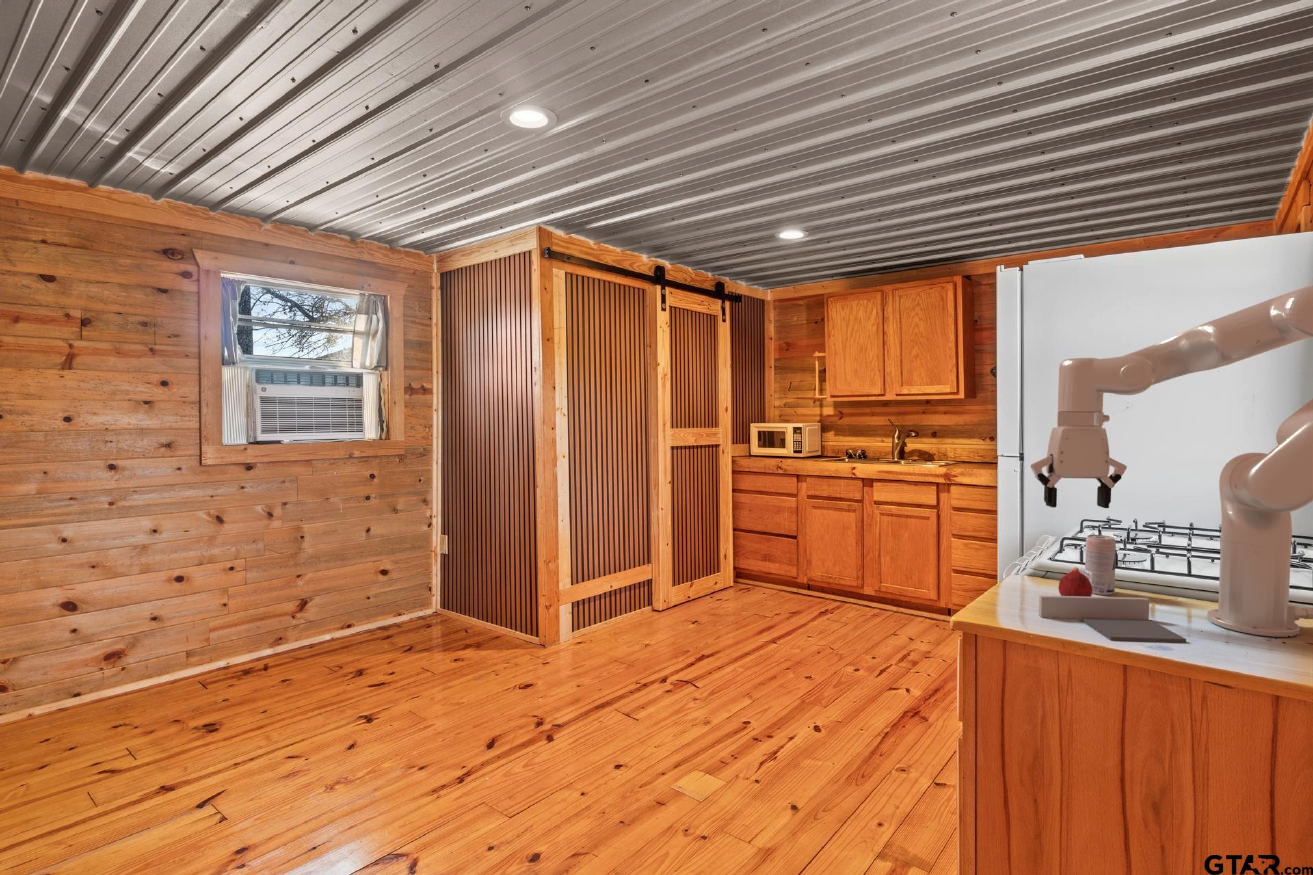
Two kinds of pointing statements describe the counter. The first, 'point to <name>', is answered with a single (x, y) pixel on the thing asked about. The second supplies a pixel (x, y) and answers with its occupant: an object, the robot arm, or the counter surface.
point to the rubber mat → (1132, 630)
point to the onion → (1075, 584)
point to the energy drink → (1101, 563)
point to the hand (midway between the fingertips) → (1076, 506)
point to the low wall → (1094, 607)
